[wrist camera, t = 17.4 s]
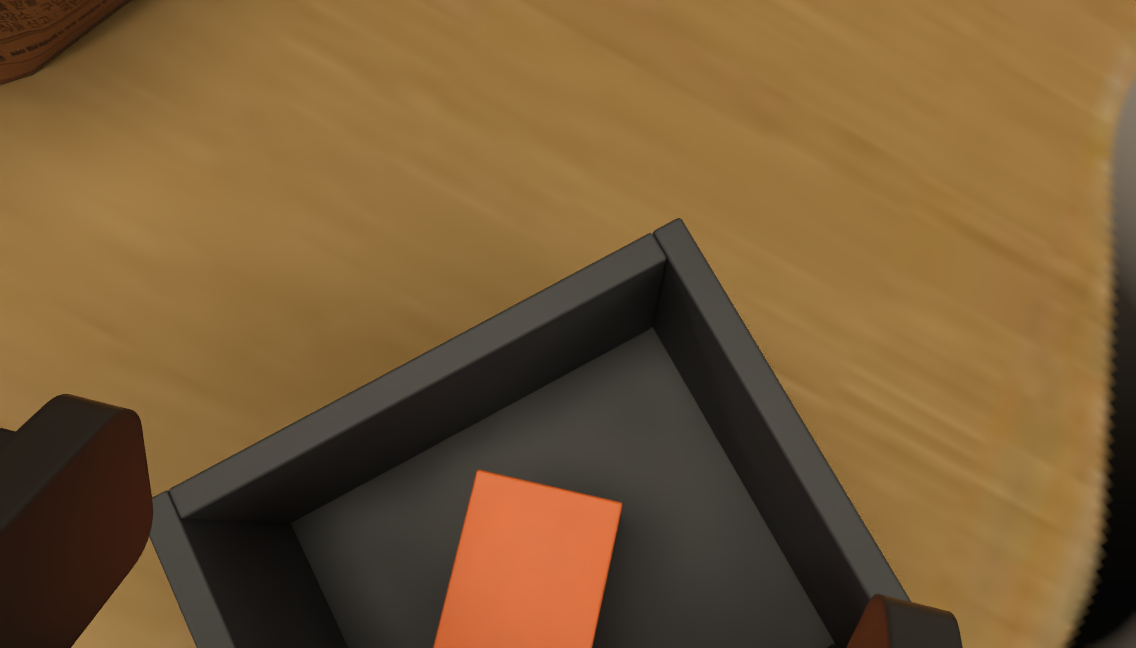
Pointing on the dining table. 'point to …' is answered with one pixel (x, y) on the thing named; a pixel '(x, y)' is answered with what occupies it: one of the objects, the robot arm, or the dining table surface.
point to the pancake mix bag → (44, 31)
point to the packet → (528, 567)
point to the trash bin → (540, 480)
